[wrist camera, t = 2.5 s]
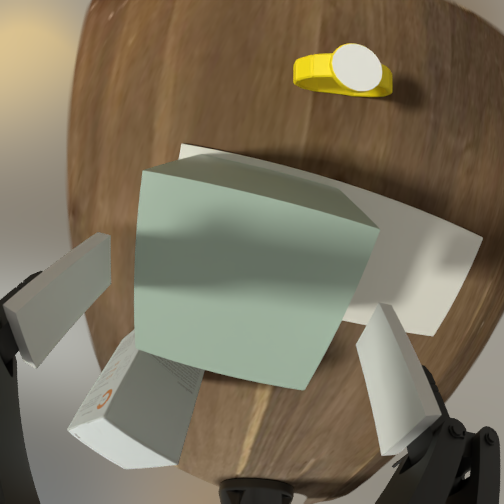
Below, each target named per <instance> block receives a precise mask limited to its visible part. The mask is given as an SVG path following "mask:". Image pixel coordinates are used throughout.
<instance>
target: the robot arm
mask: <svg viewBox="0 0 504 504" xmlns="http://www.w3.org/2000/svg"><path fill="white" fill-rule="evenodd" d="M110 237H111V235H107V234H103V233H100V232H97V233H96V234H94V235H93V236H91V237H90V238H88V239H87V240H86V241H84V242H83V243H81V244H80V245H78V246H77V247H76V248H74V249H73V250H71V251H70V252H69V253H67V254H66V255H64V256H63V257H62V258H60V259H59V260H58V261H56V262H55V263H54V264H52V265H51V266H50V267H48V268H47V269H46V270H44V271H40V272H37V273H35V274H32V275H30V276H29V277H28V278H27V279H25V280H24V281H23V283H22V282H21V283H20V284H19V285H18V286H17V288H14V289H13V290H12V291H10V292H9V293H8V294H7V295H6V296H5V297H3V298H2V299H1V300H0V504H40V501H39V498H38V495H37V492H36V488H35V485H34V482H33V478H32V474H31V471H30V467H29V462H28V458H27V453H26V448H25V443H24V438H23V431H22V424H21V417H20V408H19V398H18V385H17V384H18V383H17V360H16V357H15V354H16V353H17V352H18V351H19V352H20V354H21V356H22V359H23V361H24V362H26V363H27V364H29V365H31V366H32V367H34V368H35V369H37V368H38V367H39V365H40V364H41V363H42V362H43V360H44V359H45V358H46V357H47V356H48V354H49V353H50V352H51V351H52V349H53V348H54V347H55V346H56V345H57V343H58V342H59V341H60V340H61V339H62V338H63V336H64V335H65V334H66V333H67V332H68V330H69V329H70V328H71V327H72V326H73V325H74V324H75V322H76V321H77V320H78V319H79V318H80V317H81V316H82V315H83V313H84V312H85V311H86V310H87V309H88V308H89V307H90V306H91V305H92V304H93V302H94V301H95V300H96V299H97V298H98V297H99V296H100V295H101V294H102V293H103V292H104V291H105V290H106V289H107V287H108V286H109V285H110V284H111V261H110ZM356 347H357V351H358V354H359V358H360V362H361V366H362V369H363V373H364V377H365V381H366V385H367V389H368V393H369V398H370V402H371V406H372V411H373V415H374V420H375V425H376V429H377V434H378V439H379V444H380V450H381V455H382V456H383V455H396V454H398V453H400V452H401V451H402V450H403V449H404V448H406V447H407V450H408V454H406V455H405V456H404V457H402V458H401V459H400V460H399V461H397V462H396V463H395V464H394V465H393V466H392V467H396V466H397V465H398V464H399V466H398V468H397V470H396V471H395V473H394V475H393V476H392V478H391V480H390V481H389V483H388V485H387V486H386V488H385V489H384V491H383V493H382V494H381V495H380V497H379V498H378V500H377V501H376V503H375V504H499V493H500V444H499V438H498V435H497V433H496V431H494V429H492V428H490V427H487V426H486V427H483V428H482V429H481V430H480V431H479V432H478V433H476V434H475V433H470V432H467V431H466V428H465V427H464V425H463V424H462V423H461V422H460V421H459V420H457V419H455V418H450V417H449V414H448V412H447V409H446V407H445V404H444V402H443V399H442V397H441V395H440V392H438V391H439V390H438V388H437V385H435V381H434V379H433V376H432V374H431V373H430V372H429V371H428V369H427V368H426V367H425V366H423V365H421V364H420V361H419V359H418V357H417V355H416V353H415V351H414V349H413V346H412V344H411V342H410V340H409V338H408V336H407V334H406V332H405V330H404V328H403V326H402V324H401V322H400V320H399V318H398V316H397V314H396V312H395V311H394V309H393V307H392V305H389V304H384V303H378V305H377V307H376V309H375V311H374V313H373V315H372V317H371V318H370V320H369V322H368V324H367V326H366V328H365V329H364V331H363V333H362V335H361V337H360V338H359V340H358V342H357V344H356ZM470 470H471V472H470V477H468V478H466V479H465V478H464V476H465V474H466V473H467V472H468V471H470ZM293 493H294V489H293V487H292V486H290V485H288V484H286V483H282V482H278V481H272V480H265V479H231V480H226V481H223V482H222V483H221V484H220V487H219V497H220V502H221V504H291V502H292V499H293Z"/></svg>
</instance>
